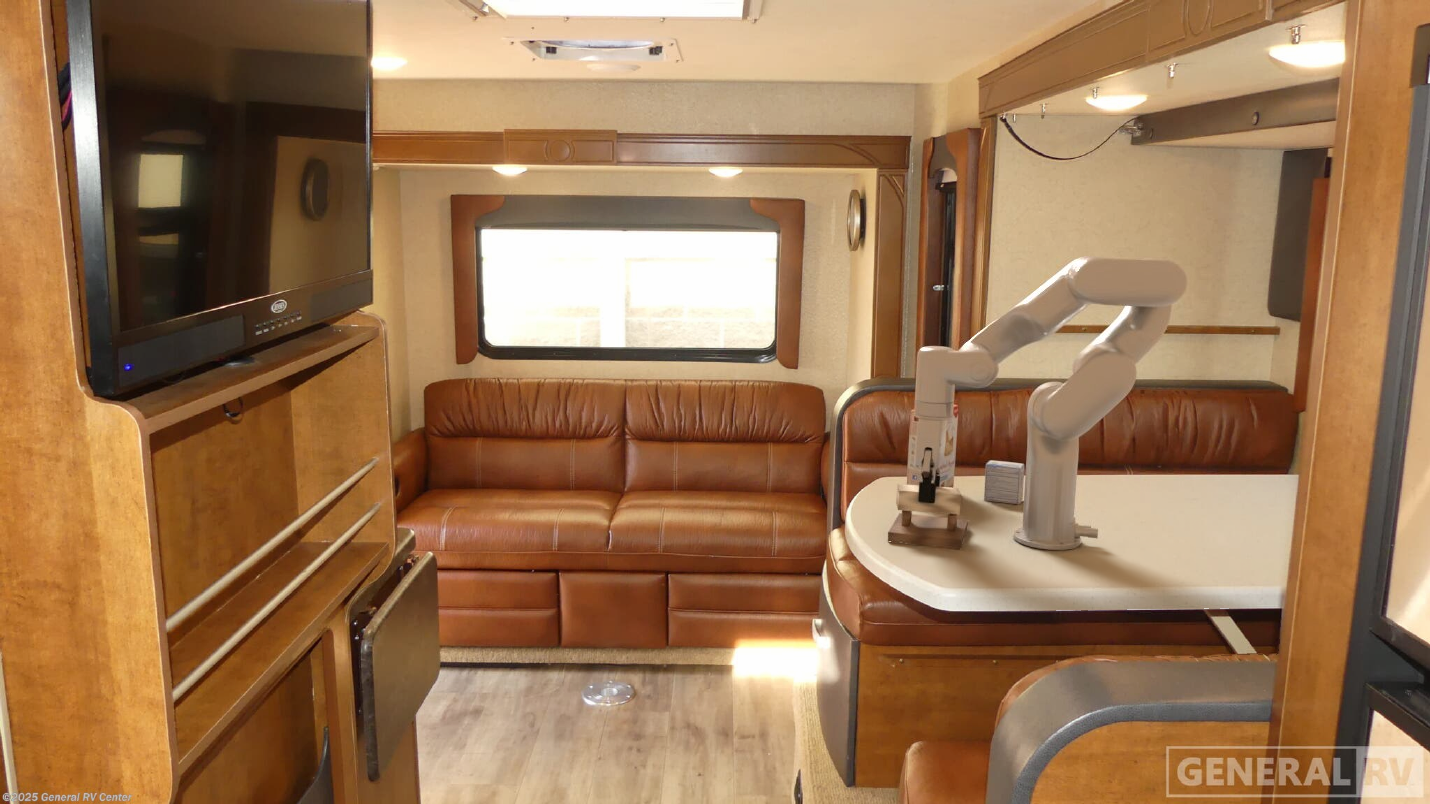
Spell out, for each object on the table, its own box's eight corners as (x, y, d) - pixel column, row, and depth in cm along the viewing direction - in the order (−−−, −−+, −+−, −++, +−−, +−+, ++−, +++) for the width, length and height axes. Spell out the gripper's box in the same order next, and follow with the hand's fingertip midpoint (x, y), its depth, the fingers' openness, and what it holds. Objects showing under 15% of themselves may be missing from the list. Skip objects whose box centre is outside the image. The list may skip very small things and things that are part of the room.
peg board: (967, 529, 207) (968, 505, 206) (960, 549, 194) (961, 524, 193) (899, 522, 212) (900, 499, 211) (887, 541, 199) (888, 517, 198)
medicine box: (1023, 500, 229) (1025, 463, 228) (1019, 505, 226) (1021, 467, 224) (987, 496, 233) (989, 459, 232) (983, 500, 229) (985, 463, 228)
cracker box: (929, 505, 225) (933, 412, 222) (904, 500, 229) (908, 409, 225) (955, 492, 236) (959, 404, 233) (931, 488, 240) (935, 401, 236)
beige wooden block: (956, 507, 204) (957, 488, 203) (959, 514, 199) (961, 494, 198) (896, 503, 205) (897, 484, 204) (897, 510, 200) (899, 490, 200)
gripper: (920, 401, 208) (915, 486, 211) (908, 415, 192) (903, 507, 195) (957, 403, 205) (952, 490, 209) (948, 418, 189) (942, 511, 193)
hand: (928, 497), depth 202 cm, fingers closed on beige wooden block, 5 cm apart
